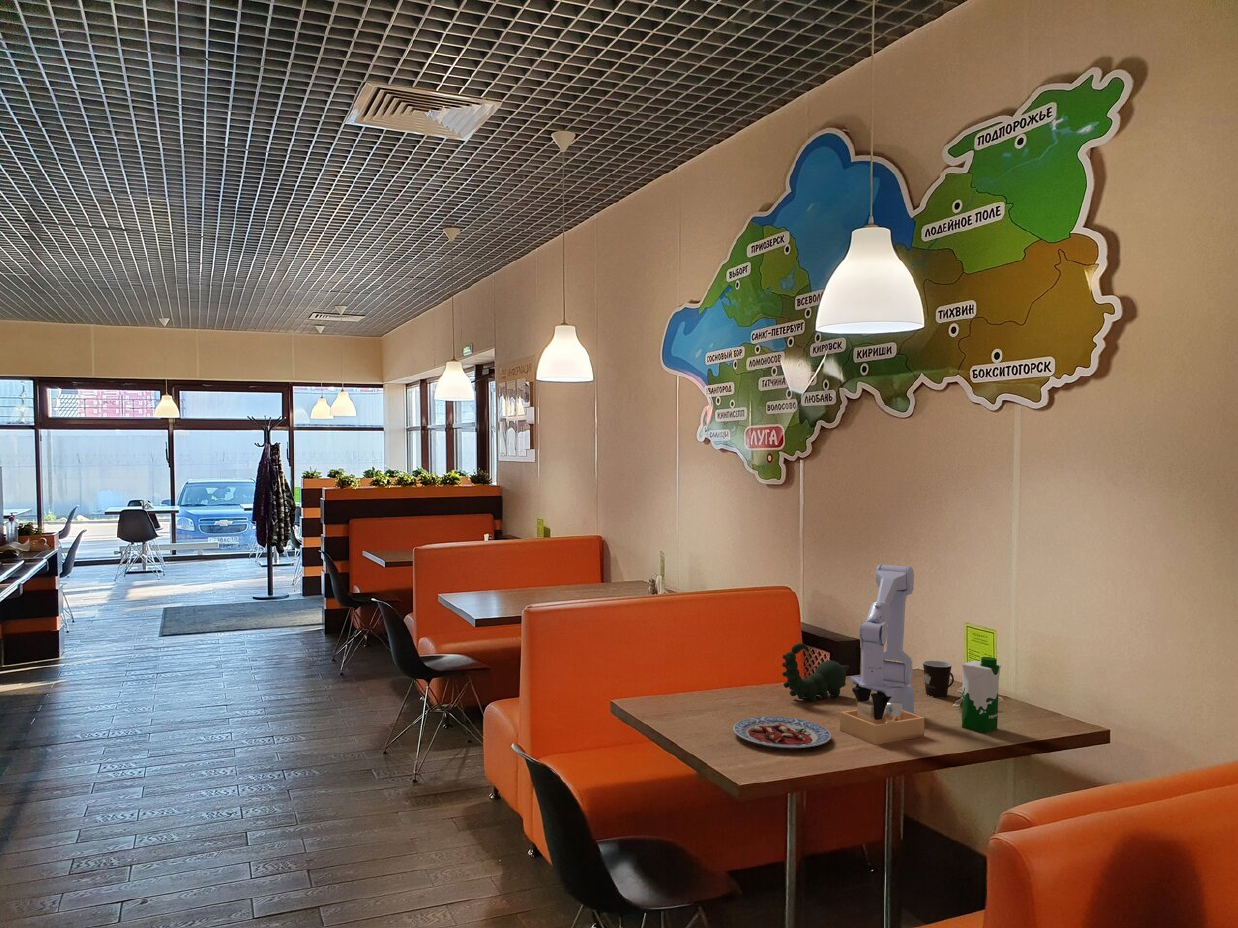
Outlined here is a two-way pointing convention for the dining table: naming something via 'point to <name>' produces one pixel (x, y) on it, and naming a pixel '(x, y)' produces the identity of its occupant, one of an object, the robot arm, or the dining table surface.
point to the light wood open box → (882, 728)
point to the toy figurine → (813, 677)
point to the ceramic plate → (782, 732)
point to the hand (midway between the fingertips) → (871, 716)
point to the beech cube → (868, 712)
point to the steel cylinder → (893, 711)
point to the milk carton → (980, 694)
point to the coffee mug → (937, 678)
